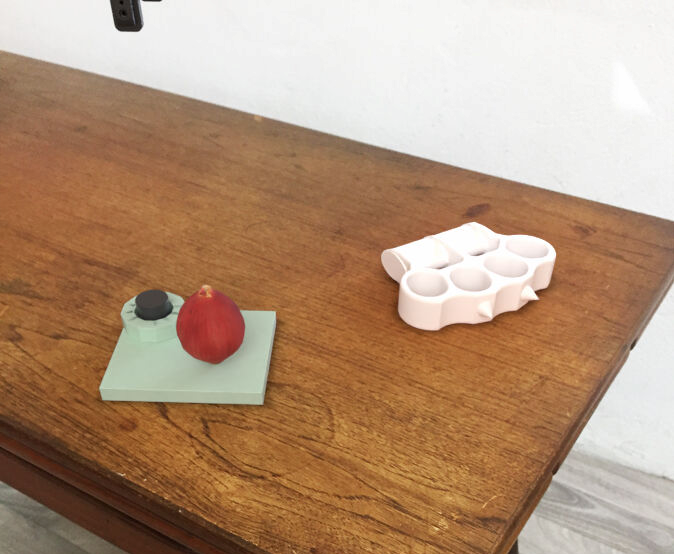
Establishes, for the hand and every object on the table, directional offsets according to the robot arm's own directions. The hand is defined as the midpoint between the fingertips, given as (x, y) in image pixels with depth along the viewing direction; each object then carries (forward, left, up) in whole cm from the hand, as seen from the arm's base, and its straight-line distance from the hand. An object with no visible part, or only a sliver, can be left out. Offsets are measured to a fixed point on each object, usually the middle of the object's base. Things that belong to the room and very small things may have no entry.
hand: (142, 14), depth 63 cm
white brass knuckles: (+30, -3, -24) cm, 39 cm away
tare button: (0, -12, -21) cm, 25 cm away
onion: (+6, -18, -23) cm, 30 cm away
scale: (+4, -16, -24) cm, 29 cm away
